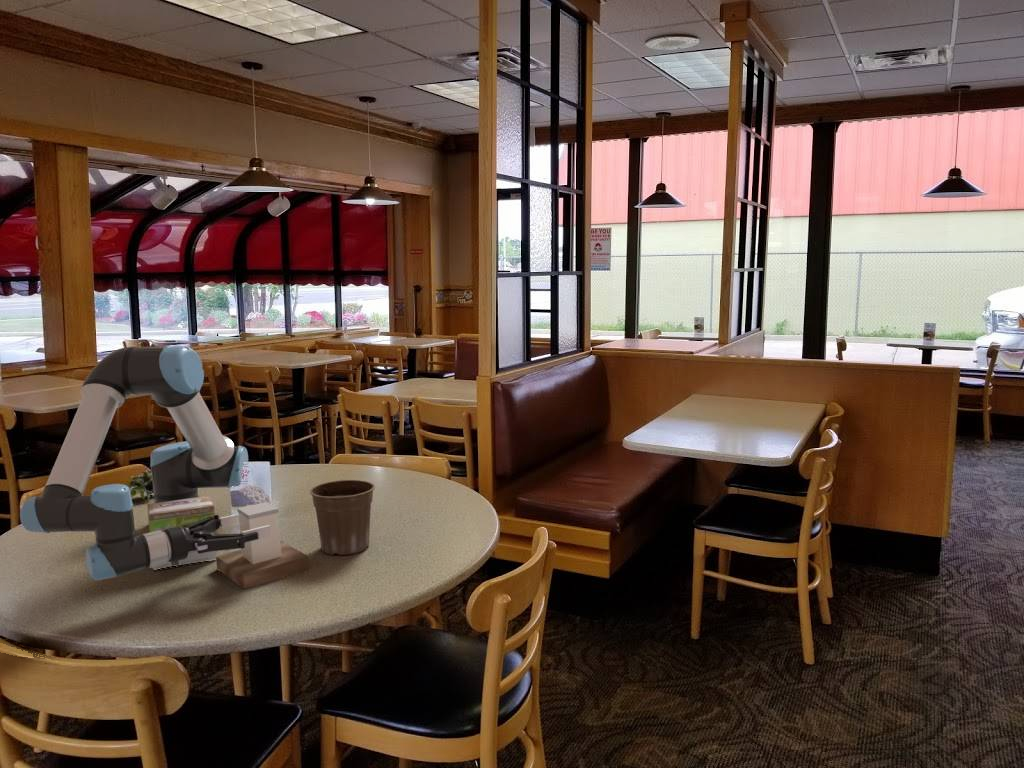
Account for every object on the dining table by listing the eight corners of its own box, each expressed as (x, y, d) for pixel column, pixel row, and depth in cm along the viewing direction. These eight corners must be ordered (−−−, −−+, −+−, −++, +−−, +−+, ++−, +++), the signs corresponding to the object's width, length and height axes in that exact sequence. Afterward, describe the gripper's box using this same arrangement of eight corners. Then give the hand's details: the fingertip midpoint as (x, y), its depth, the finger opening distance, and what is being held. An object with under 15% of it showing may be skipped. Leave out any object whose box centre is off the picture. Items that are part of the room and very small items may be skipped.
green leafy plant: (152, 511, 251) (172, 479, 254) (151, 515, 241) (172, 480, 244) (119, 496, 247) (139, 463, 250) (117, 499, 237) (138, 464, 240)
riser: (217, 571, 187) (216, 556, 186) (279, 554, 197) (277, 539, 197) (244, 591, 175) (243, 574, 174) (308, 571, 186) (307, 555, 185)
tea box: (153, 572, 186) (147, 514, 184) (151, 559, 195) (145, 503, 192) (219, 560, 193) (214, 504, 190) (214, 548, 201) (209, 493, 199)
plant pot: (355, 532, 211) (352, 475, 208) (390, 546, 199) (387, 486, 197) (302, 548, 199) (298, 488, 197) (335, 564, 188) (331, 501, 186)
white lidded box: (241, 556, 186) (237, 508, 184) (270, 548, 190) (266, 502, 189) (252, 564, 180) (248, 515, 179) (282, 556, 185) (278, 508, 183)
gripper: (150, 547, 180) (239, 526, 194) (185, 578, 162) (281, 552, 175) (147, 517, 179) (237, 497, 193) (182, 544, 160) (279, 521, 174)
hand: (258, 523), depth 184 cm, fingers open, 13 cm apart
